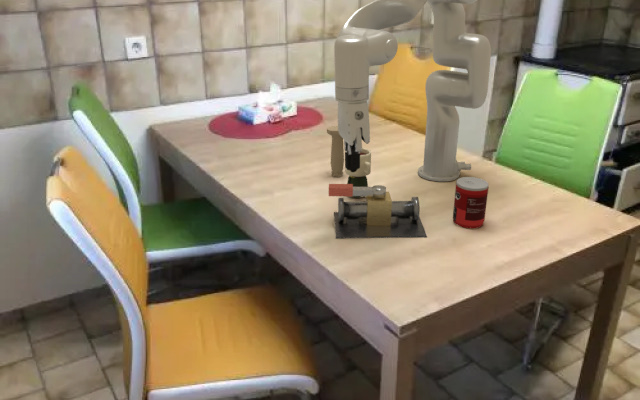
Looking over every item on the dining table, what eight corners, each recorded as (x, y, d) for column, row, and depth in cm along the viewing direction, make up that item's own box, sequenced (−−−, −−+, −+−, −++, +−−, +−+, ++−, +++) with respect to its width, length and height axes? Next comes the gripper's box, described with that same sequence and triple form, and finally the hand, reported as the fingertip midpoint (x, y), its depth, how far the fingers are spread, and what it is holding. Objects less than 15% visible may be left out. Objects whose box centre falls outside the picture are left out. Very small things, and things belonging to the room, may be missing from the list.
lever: (385, 192, 149) (385, 183, 148) (386, 198, 146) (386, 189, 145) (329, 191, 150) (329, 183, 149) (328, 197, 147) (328, 188, 146)
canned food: (460, 213, 155) (464, 174, 151) (489, 221, 151) (494, 181, 146) (446, 223, 150) (450, 183, 145) (475, 232, 145) (480, 191, 141)
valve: (417, 212, 155) (418, 188, 153) (426, 237, 143) (428, 211, 140) (333, 213, 155) (334, 189, 152) (336, 238, 142) (336, 212, 140)
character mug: (335, 191, 169) (336, 148, 163) (356, 186, 172) (357, 143, 167) (358, 204, 160) (359, 159, 155) (379, 198, 164) (380, 154, 158)
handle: (350, 176, 179) (350, 129, 173) (330, 179, 177) (331, 131, 171) (343, 171, 183) (343, 124, 177) (324, 174, 181) (324, 127, 175)
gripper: (379, 99, 126) (378, 178, 134) (357, 82, 139) (357, 155, 147) (346, 103, 124) (347, 182, 132) (326, 85, 137) (328, 159, 145)
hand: (352, 168), depth 140 cm, fingers closed
